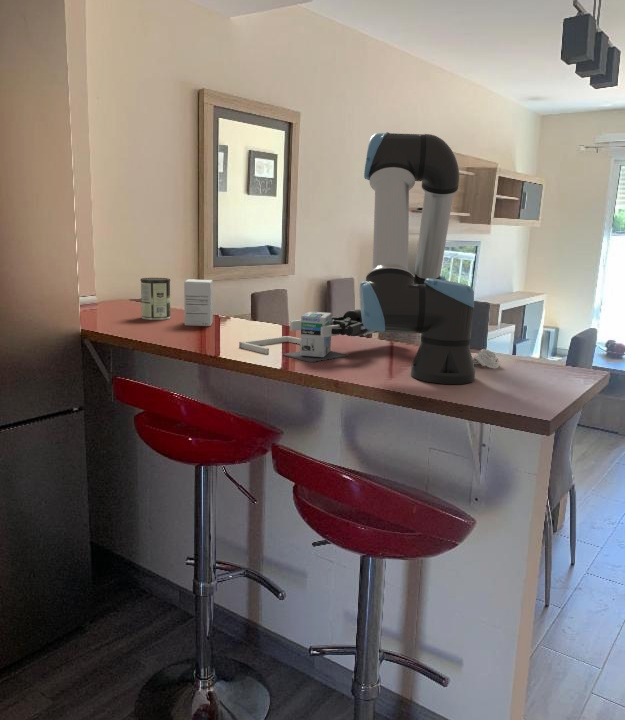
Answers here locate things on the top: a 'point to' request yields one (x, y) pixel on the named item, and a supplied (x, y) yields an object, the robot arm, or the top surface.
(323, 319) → the light bulb box
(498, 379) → the top surface
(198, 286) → the supplement box
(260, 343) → the grey bent bar
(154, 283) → the coffee can
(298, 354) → the rubber mat
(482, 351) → the whitish grey rock
